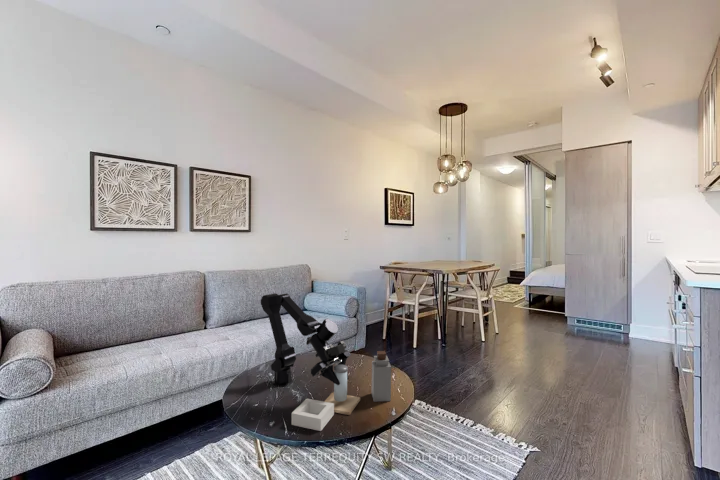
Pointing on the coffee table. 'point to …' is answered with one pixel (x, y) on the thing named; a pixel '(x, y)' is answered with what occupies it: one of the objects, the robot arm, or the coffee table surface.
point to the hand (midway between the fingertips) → (343, 382)
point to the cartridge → (340, 389)
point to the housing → (312, 421)
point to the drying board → (343, 404)
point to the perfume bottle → (381, 377)
